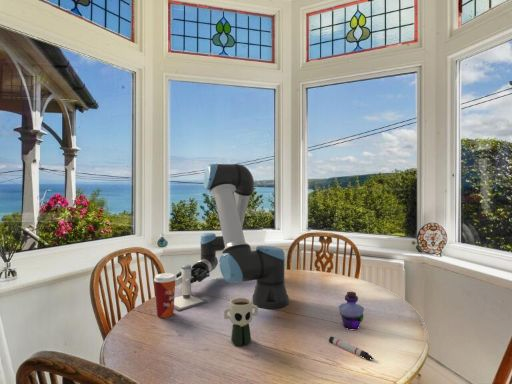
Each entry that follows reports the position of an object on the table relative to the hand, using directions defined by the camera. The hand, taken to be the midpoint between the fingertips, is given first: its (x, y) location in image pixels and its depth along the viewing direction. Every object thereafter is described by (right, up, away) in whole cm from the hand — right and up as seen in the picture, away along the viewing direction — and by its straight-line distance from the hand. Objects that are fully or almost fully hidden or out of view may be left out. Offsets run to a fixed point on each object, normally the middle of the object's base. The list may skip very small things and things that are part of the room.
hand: (181, 283), depth 140 cm
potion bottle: (+64, -9, -22) cm, 68 cm away
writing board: (+1, -8, +2) cm, 9 cm away
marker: (+59, -10, -39) cm, 72 cm away
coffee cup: (-3, -9, -11) cm, 15 cm away
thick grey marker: (+1, -7, +6) cm, 9 cm away
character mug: (+26, -10, -33) cm, 44 cm away
